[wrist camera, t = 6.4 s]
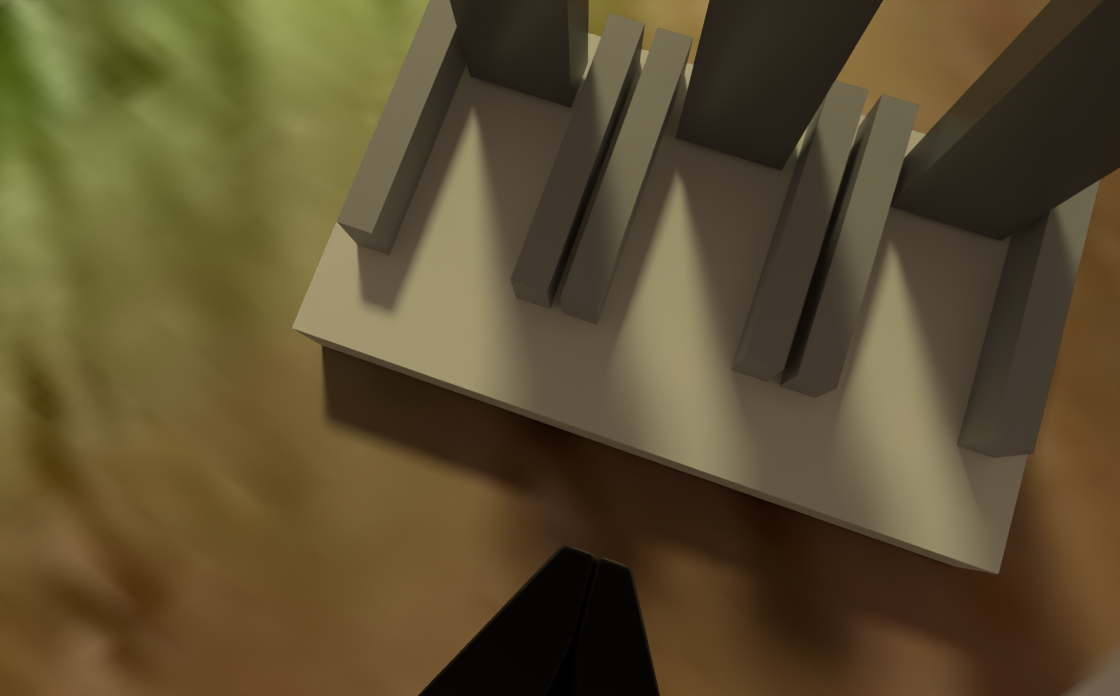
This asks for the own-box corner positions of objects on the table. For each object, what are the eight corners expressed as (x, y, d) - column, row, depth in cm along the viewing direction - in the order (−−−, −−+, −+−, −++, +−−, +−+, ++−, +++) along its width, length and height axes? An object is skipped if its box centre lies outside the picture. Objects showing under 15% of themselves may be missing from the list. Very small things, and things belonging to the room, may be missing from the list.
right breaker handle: (1014, 258, 17) (1538, -38, 8) (870, 213, 18) (1207, -124, 8) (1032, 185, 18) (1561, -187, 8) (891, 142, 18) (1239, -265, 8)
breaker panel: (954, 566, 18) (1039, 581, 15) (321, 345, 20) (265, 312, 16) (1043, 216, 20) (1139, 156, 16) (449, 34, 21) (422, -56, 18)
